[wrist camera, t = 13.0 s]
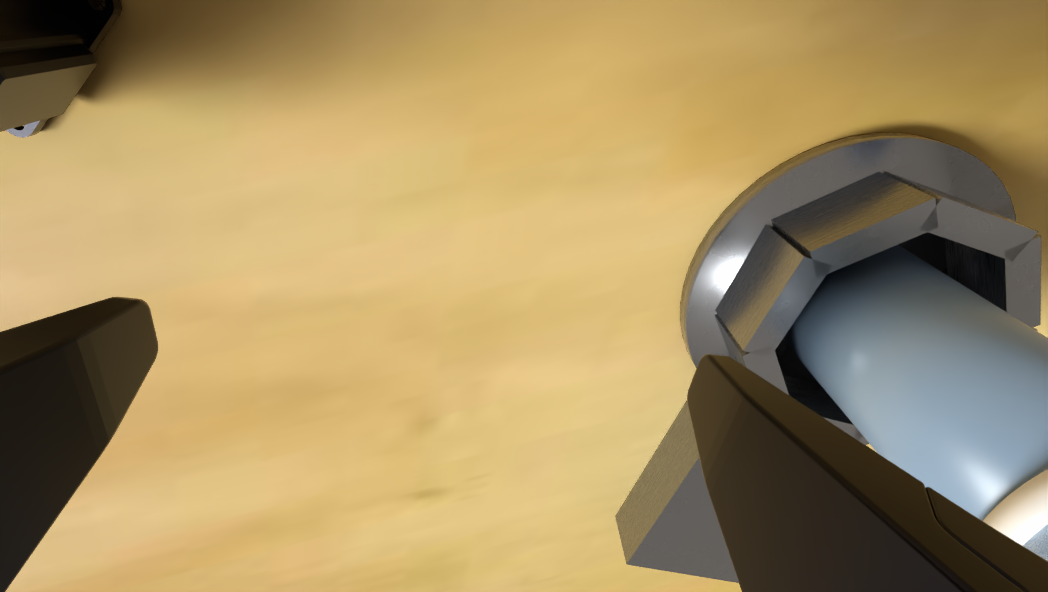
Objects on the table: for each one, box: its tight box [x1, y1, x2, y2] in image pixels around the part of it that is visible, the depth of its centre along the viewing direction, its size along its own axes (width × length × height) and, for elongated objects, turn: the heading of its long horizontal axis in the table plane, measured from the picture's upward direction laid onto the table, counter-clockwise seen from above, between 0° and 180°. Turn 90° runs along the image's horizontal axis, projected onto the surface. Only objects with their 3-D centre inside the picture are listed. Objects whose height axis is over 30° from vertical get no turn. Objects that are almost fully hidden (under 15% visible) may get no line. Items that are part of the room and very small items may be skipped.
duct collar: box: [616, 133, 1041, 583], centre depth 24 cm, size 24×14×4 cm, turn 162°
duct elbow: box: [783, 245, 1048, 561], centre depth 18 cm, size 10×6×12 cm, turn 82°
